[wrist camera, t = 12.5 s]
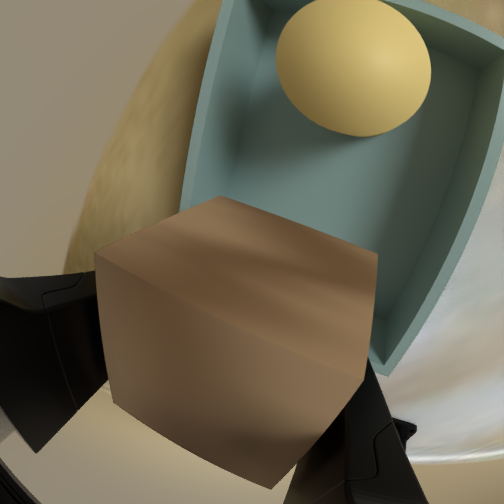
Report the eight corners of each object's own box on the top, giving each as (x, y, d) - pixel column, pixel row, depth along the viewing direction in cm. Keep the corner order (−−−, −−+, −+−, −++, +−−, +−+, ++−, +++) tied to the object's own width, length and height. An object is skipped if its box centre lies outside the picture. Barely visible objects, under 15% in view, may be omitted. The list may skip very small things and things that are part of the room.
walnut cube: (377, 254, 8) (363, 380, 4) (319, 373, 10) (271, 489, 6) (220, 195, 9) (94, 252, 5) (198, 318, 12) (113, 402, 7)
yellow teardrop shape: (397, 149, 14) (415, 155, 8) (307, 124, 15) (263, 116, 9) (414, 62, 12) (437, 15, 6) (323, 41, 13) (288, -13, 7)
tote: (486, 68, 11) (519, 48, 6) (390, 325, 18) (388, 376, 14) (268, 4, 14) (231, -29, 10) (212, 252, 22) (171, 282, 18)
